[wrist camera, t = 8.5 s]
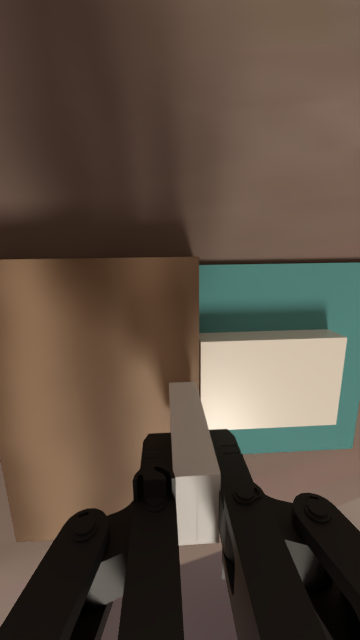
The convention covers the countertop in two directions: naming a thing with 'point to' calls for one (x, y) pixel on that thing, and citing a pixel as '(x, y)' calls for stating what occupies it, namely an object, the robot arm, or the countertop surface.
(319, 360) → the cream rectangular block
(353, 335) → the mat
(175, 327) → the brown flat wooden board
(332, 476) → the countertop surface
